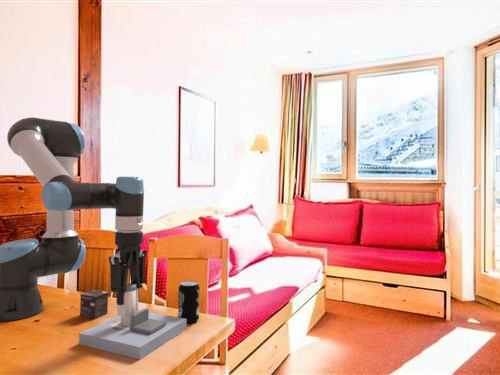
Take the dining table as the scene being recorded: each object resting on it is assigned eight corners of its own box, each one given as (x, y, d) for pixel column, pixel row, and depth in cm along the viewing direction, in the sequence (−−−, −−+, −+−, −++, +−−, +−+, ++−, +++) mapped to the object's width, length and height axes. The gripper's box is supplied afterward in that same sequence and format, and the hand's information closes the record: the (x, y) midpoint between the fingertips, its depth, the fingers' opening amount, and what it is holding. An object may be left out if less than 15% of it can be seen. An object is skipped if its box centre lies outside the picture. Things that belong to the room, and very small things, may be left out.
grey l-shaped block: (129, 329, 99) (129, 315, 99) (146, 320, 105) (146, 307, 105) (150, 333, 96) (151, 319, 96) (166, 324, 103) (166, 311, 103)
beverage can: (194, 325, 111) (195, 286, 111) (174, 323, 112) (175, 284, 112) (201, 317, 117) (202, 280, 117) (182, 316, 119) (183, 279, 119)
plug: (116, 328, 102) (117, 286, 102) (127, 323, 106) (127, 282, 106) (128, 331, 100) (129, 287, 100) (138, 326, 104) (139, 284, 104)
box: (79, 317, 116) (79, 294, 116) (93, 311, 122) (94, 289, 122) (94, 320, 114) (94, 296, 114) (108, 313, 119) (108, 291, 119)
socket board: (78, 344, 96) (79, 333, 96) (132, 318, 116) (132, 308, 116) (140, 359, 89) (140, 347, 89) (186, 328, 108) (186, 318, 108)
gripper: (118, 235, 94) (116, 325, 94) (158, 228, 110) (157, 306, 110) (96, 233, 97) (94, 321, 97) (138, 227, 113) (137, 302, 113)
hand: (127, 312), depth 103 cm, fingers closed on plug, 4 cm apart
